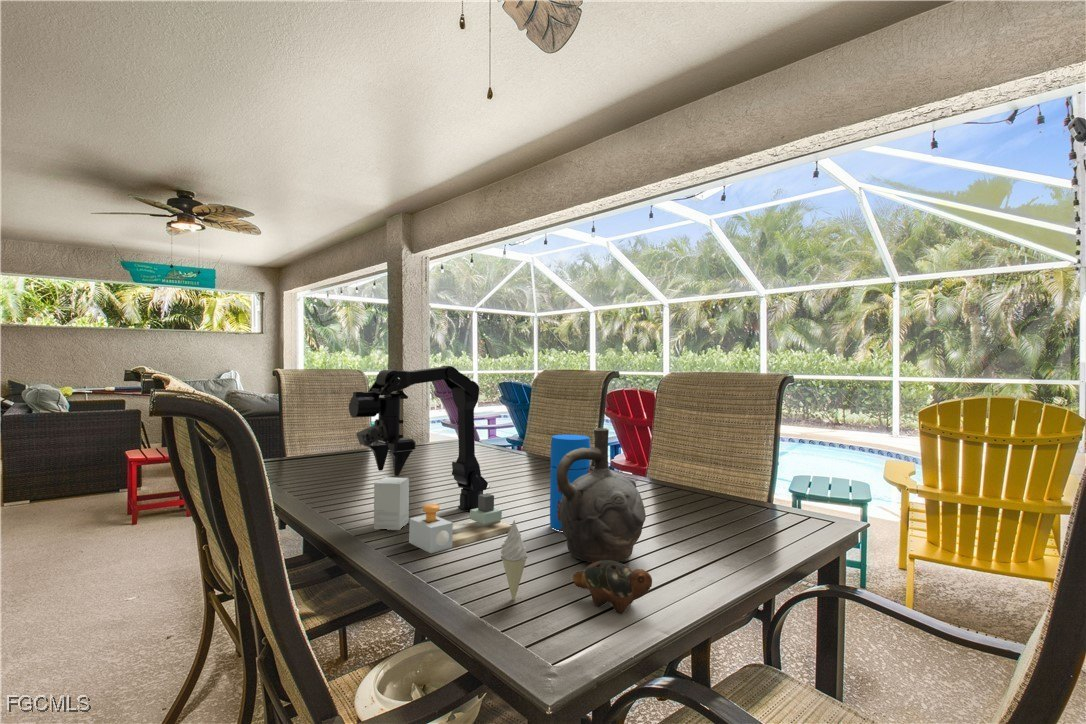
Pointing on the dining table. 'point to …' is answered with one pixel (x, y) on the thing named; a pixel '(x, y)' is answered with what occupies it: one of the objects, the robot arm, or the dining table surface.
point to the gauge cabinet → (430, 534)
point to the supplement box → (391, 503)
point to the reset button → (431, 512)
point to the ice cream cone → (514, 558)
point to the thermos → (576, 470)
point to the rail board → (477, 531)
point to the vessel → (599, 507)
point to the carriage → (485, 510)
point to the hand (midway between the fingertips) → (388, 473)
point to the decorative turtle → (613, 583)
